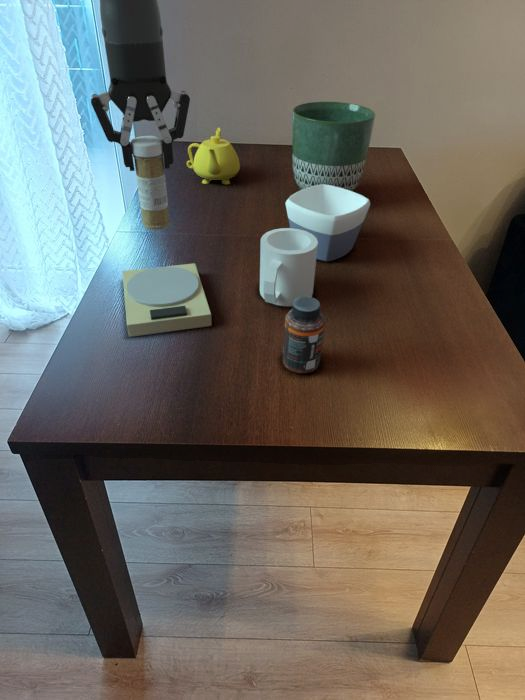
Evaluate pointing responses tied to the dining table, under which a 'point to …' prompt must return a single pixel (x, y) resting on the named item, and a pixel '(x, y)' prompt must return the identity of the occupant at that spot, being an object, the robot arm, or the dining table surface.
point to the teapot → (214, 159)
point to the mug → (287, 265)
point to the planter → (330, 143)
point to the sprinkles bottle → (151, 181)
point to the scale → (164, 300)
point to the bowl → (328, 217)
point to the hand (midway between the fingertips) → (149, 167)
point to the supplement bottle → (303, 335)
